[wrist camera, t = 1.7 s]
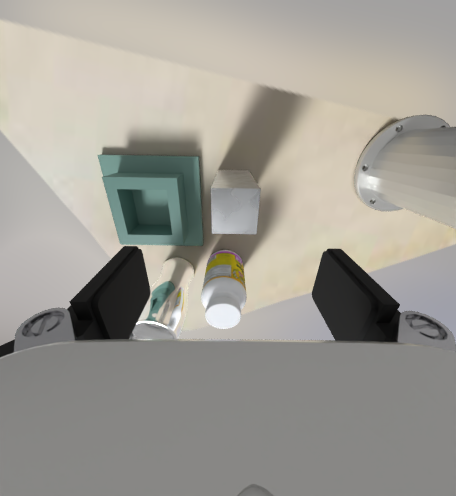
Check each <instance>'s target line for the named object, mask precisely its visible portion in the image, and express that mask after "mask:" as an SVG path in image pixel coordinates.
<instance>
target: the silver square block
mask: <svg viewBox="0 0 456 496" xmlns="http://www.w3.org/2000/svg"><path fill="white" fill-rule="evenodd" d="M260 190H261V189H260V187H259V185H258V184H257V182H256V181H255V179H254V178H253V176H252V175H251V173H250V171H249V170H218V172H217V174H216V176H215V179H214V181H213V184H212V186H211V216H212V233H213V234H257V223H258V212H259V201H260Z"/></svg>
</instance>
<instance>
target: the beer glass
mask: <svg viewBox="0 0 456 496" xmlns="http://www.w3.org/2000/svg"><path fill="white" fill-rule="evenodd" d="M193 276H194V268H193V266H192V265H191V263H190V262H188V261H187V260H185V259H183V258H178V257H175V258H170V259H168V260H167V261H166V262H165V263H164V264H163V266H162V270H161V275H160V277H159V278H158V279H157V281H156V282H155V283H154V284H153V285H152V286H151V287H150V291H151V293H150V297H149V300H148V302H147V304H146V306H145V308H144V310H143V312H142V314H141V316H140V318H139V320H138V322H137V324H136V326H135V328H134V330H133V332H132V334H131V336H130V338H129V339H179V337H180V334H181V331H182V328H183V325H184V322H185V318H186V313H187V305H188V287H189V284H190V282H191V280H192V279H193Z"/></svg>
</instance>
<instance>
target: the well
mask: <svg viewBox="0 0 456 496" xmlns="http://www.w3.org/2000/svg"><path fill="white" fill-rule="evenodd" d="M98 158H99V162H100V166H101V170H102V173H103V177H102V179H103V182H104V186H105V190H106V193H107V197H108V201H109V204H110V208H111V212H112V216H113V219H114V223H115V227H116V230H117V234H118V238H119V241H120V244H126V245H181V246H203V227H202V206H201V186H200V165H199V156H152V155H98Z"/></svg>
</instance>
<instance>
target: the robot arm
mask: <svg viewBox="0 0 456 496" xmlns="http://www.w3.org/2000/svg"><path fill="white" fill-rule="evenodd" d="M362 167H363V168H362ZM354 186H355V190H356V193H357V195H358V197H359V199H360V200H361V201H362V202H363V203H364V204H365V205H367V206H369V207H371V208H373V209H375V210H379V211H396V210H401V209H406V210H409V211H411V212H414V213H416V214H419V215H422V216H424V217H427V218H429V219H432V220H434V221H437V222H439V223H442V224H445V225H447V226H450V227H452V228H455V229H456V127H450V126H449V125H448V124H447V123H446V122H445V121H444V120H442V119H440V118H438V117H436V116H431V115H419V116H411V117H406V118H404V119H401V120H398V121H396V122H394V123H392V124H391V125H389V126H387V127H386V128H385V129H383V130H382V131H381V132H380V133H378V134H377V135H376V136H375V137H374V138H373V139H372V140H371V141H370V143H369V144H368V145H367V147H366V148H365V149H364V151H363V153H362V155H361V157H360V158H359V160H358V163H357V166H356V169H355V175H354ZM150 293H151V291H150V286H149V281H148V277H147V272H146V267H145V263H144V258H143V254H142V250H141V249H138V247H137V246H124V247H123V248H122V249H121V250H120V251H119V252H118V253H117V254H116V255H115V256H114V257H113V258H112V259H111V260H110V261H109V262H108V263H107V264H106V265H105V266H104V267H103V268H102V269H101V270H100V271H99V272H98V274H96V276H95V277H94V278H92V280H91V281H90V282H89V283H88V284H87V285H86V286H85V287H84V288H83V289H82V290H81V291H80V292H79V293H78V294H77V295H76V296H75V297H74V298H73V299H72V300H71V301H70V304H71V306H70V307H69V308H68V309H65V308H52V309H48V310H45V311H42V312H40V313H38V314H35V315H34V316H32V317H31V318H29V319H27V320H26V321H25V322H24V323H22V324H21V326H20V327H19V328H18V329H17V332H16V334H15V340H13V341H10V342H8V343H6V344H4V345H1V346H0V496H456V344H455V339H454V336H453V334H452V332H451V331H450V330H449V329H448V328H447V327H446V326H445V325H443V324H442V323H441V322H439V321H437V320H436V319H434V318H432V317H430V316H428V315H425V314H422V313H419V312H414V311H405V312H402V313H400V312H399V311H398V310H397V309H398V308H399V306H400V304H399V303H397V302H396V301H395V300H394V299H393V298H392V297H391V296H390V295H389V294H388V293H387V292H386V291H385V290H384V289H383V288H382V287H381V286H380V285H379V284H377V283H376V282H375V281H374V280H373V279H372V278H371V277H370V276H369V275H368V274H367V273H366V272H365V271H364V270H363V269H362V268H361V267H360V266H358V265H357V264H356V263H355V262H354V261H353V260H352V259H351V258H350V257H349V256H348V255H347V254H346V253H345V252H344V251H343V250H341V249H327V251H325V252H323V255H322V258H321V262H320V265H319V269H318V273H317V276H316V280H315V283H314V287H313V291H312V297H313V300H314V302H315V304H316V305H317V307H318V309H319V311H320V313H321V314H322V316H323V318H324V320H325V322H326V324H327V326H328V327H329V329H330V331H331V333H332V335H333V337H334V339H335V340H336V341H331V340H329V341H328V340H325V341H324V340H243V339H242V340H241V339H240V340H239V339H235V340H233V339H231V340H230V339H129V338H130V336H131V334H132V332H133V330H134V328H135V326H136V324H137V322H138V320H139V318H140V316H141V314H142V312H143V310H144V308H145V306H146V304H147V302H148V300H149V297H150Z"/></svg>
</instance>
